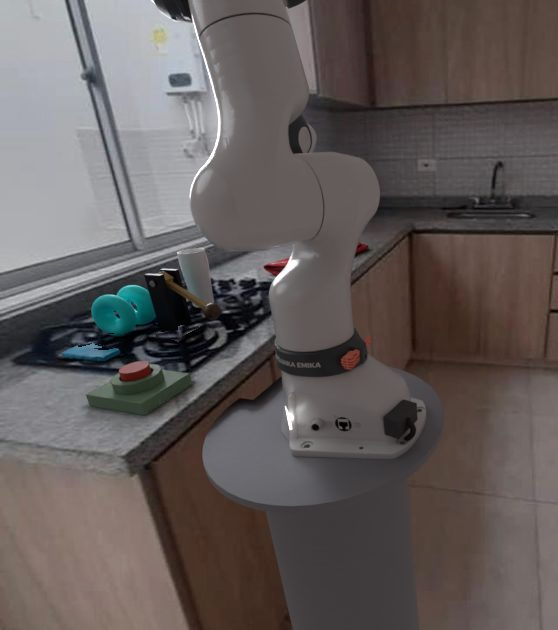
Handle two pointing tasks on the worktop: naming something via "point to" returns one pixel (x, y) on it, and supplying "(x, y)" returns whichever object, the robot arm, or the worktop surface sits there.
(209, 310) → the lever
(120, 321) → the turquoise double disc spool
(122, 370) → the button
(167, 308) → the bracket
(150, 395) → the button box
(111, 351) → the sponge
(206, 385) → the worktop surface
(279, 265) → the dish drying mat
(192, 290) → the drinking glass
